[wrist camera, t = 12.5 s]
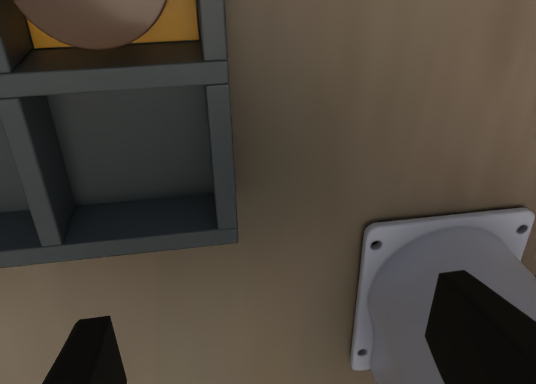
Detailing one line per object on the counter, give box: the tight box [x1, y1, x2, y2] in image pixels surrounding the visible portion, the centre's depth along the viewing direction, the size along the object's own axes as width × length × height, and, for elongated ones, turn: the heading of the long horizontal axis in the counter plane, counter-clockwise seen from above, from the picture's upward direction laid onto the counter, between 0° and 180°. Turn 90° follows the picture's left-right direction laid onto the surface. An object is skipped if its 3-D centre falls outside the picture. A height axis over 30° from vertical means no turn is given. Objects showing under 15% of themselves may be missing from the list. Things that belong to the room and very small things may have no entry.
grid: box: [0, 0, 238, 268], centre depth 15 cm, size 12×12×3 cm
